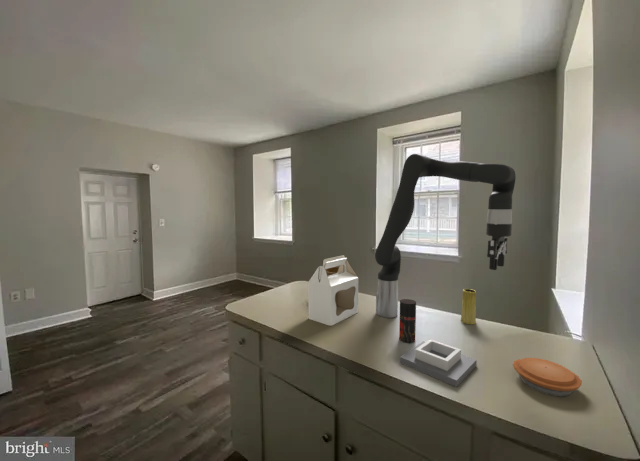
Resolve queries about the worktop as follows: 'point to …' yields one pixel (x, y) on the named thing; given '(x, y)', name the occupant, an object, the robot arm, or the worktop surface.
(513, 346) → the worktop surface
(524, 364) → the pie
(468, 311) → the vase
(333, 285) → the gable box
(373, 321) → the worktop surface
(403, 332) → the deodorant
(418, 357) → the grey white socket base
